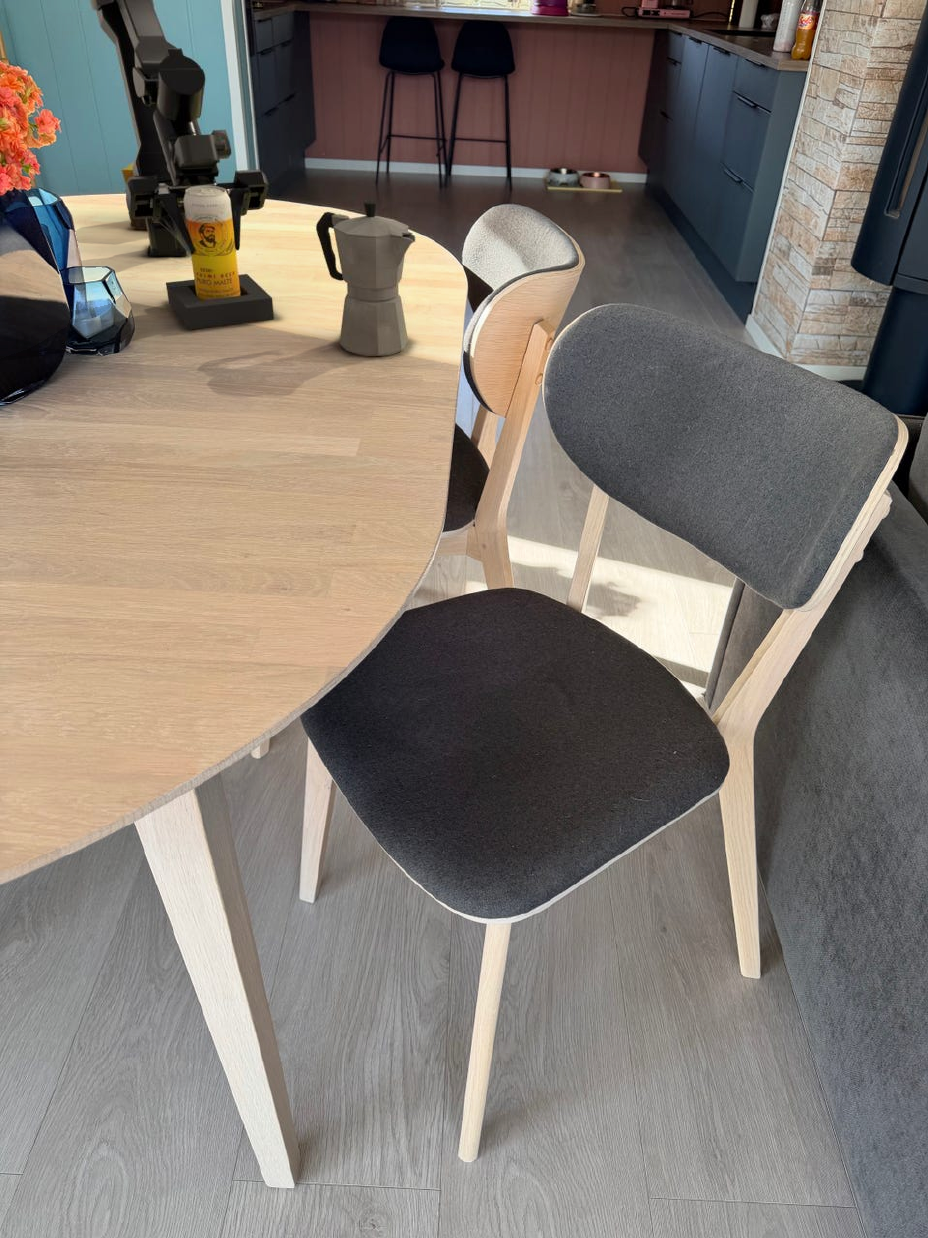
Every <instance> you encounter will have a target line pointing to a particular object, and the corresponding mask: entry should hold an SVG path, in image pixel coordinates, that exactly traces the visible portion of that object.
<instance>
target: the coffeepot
mask: <svg viewBox="0 0 928 1238" xmlns="http://www.w3.org/2000/svg"><path fill="white" fill-rule="evenodd" d="M363 207H364V209H365V210H364V211H365V215H363V216H357V217H356V216H355V217H351V218H350V217H349V215H346V214H341V213H335V212H331V211H325V212H324V213H323V214H322V215H321V217H320V218H319V219H318V221H317V223H316V225H315V231H316V235H317V238H318V240H319V243H320V244H319V245H320V247H321V250H322V254H323V257H324V261H325V264H326V267H327V270H328V273H329V276H330V278H332V279H334V280H336V281H340V282H342V281H344V282H345V283H346V289H347V290H346V291H347V292H346V295H345V297H344V302H343V309H342V317H341V319H342V320H341V327H340V336H339V345H340V346H341V347H342V348H343V349H344V350H345V351H347V352H348V353H351V354H354V355H358V356H363V357H364V356H365V357H384V356H391V355H395V354H397V353H398V354H399V353H400V352H402V351H404V349H405V348H406V347H407V344H408V342H409V338H408V332H407V331H408V330H407V325H406V319H405V314H404V307H403V303H402V297H401V295H400V294H399V284H400V282H401V280H402V278H403V270H404V263H405V256H406V254H407V251H408V250H409V248H410V247H411V245H412V244H413V243H415V242H416V235H414V234H413V233H412V232H411V231H409V225H408V224H405V223H403V222H400V221H398V220H396V219H395V218H394V219H393V218H388V217H383V216H379V215H376V214H377V213H376V212H377V207H378V202H377V201H374V200H372V199H367V200H366V201H364V202H363ZM330 229H333V232H334V233H333V234H334V238H335V244H336V248H337V249H336V250H337V254H338V259H339V260H338V261H339V265H340V271H341V272H340V271H339V270H338V269H337V258H336V254H335V252H334V249H333V244H332V238H331V234H330V233H331V232H330Z"/></svg>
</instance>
